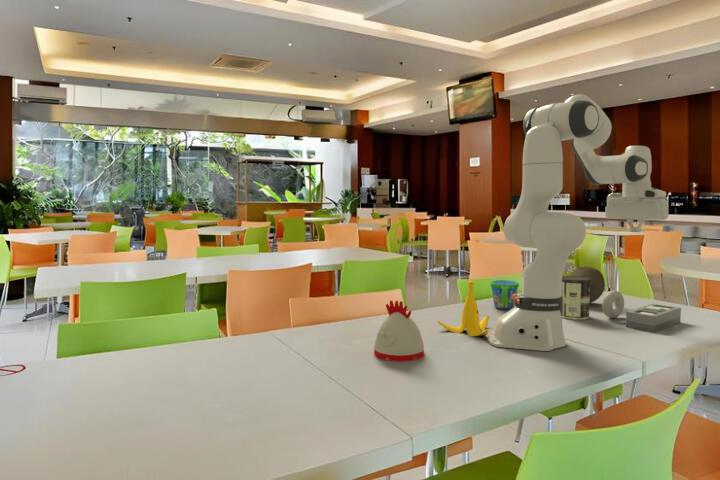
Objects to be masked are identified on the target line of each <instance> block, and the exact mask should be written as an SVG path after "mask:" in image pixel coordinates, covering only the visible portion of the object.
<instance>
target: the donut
mask: <svg viewBox="0 0 720 480" xmlns="http://www.w3.org/2000/svg"><path fill="white" fill-rule="evenodd" d="M601 308H602V312H603V314H604V315H605V316H606V317H607V318H609V319H615V318H618V317H619V316H620V315H621V314H622V313H623V311H624V309H625V297H624V295H623V294H622V293H621V292H620V291H618V290H613V289H612V290H610V291H608V292H607V293H606V294H605V295H604V297H603V299H602V303H601Z"/></svg>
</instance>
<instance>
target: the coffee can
mask: <svg viewBox="0 0 720 480" xmlns="http://www.w3.org/2000/svg"><path fill="white" fill-rule="evenodd" d="M589 295H590V278H587V277H580V276H570V275H564V276H563V275H562V289H561V296H562V297H563V313H562V319H567V320H573V321H575V320H576V321H578V320H580V321H581V320H582V321H584V320H588V319H590V303H589Z"/></svg>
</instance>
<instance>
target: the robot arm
mask: <svg viewBox="0 0 720 480" xmlns="http://www.w3.org/2000/svg"><path fill="white" fill-rule="evenodd" d="M522 128H523V132H524V134H525V139H524V144H523V148H522V149H523V150H522V151H523V152H522V178H521V179H522V180H521V181H522V186H521V194H520V197H519V200H518V202H517V205H516V208H514V211H513V212H512V213H510V215H509V216H507V218H506V220H505V222H504V224H503V225H504V226H503V233H504V234H503V235H504V237H505V239H506V240H507V241H508V242H509V243H510V244H513V245H516V246H518V247H522V248H528V249H529V248H530V249H536V253H535V257H534V259H533V260H532V261H531V262H529V263H528V264H526V265H525V266H524V267H523V269H522V275H521V277H522V278H521V279H522V281H521V294H519V295H518V294H513V295H512V299H513V301H515V305H514V308H512V309H509V310H507V312H506V313H504V314H502V315H501V316H499V318H498V319H497V321H496V324H495V327H494V331H491V332H488V334H487V338H486V339H487V342H488V343H489V344H490V345H492V346H494V347H496V348H506V349H507V348H508V349H517V350H518V349H519V350H530V351H542V352H549V351H552V350H554V349H560V348H563V347H565V346H566V345H567V341H566V338H565V333H564V327H563V318H562V313H563V297H562V296H561V289H562V277H563V273H564V269H565V265H566V262H567V261H568V259H569V257H570V256H571V254H572V253H573V252H575V250H577V249H578V248H580V247H581V246H582V244H583V242H584V241H585V238H586V236H587V235H586V234H587V230H586V228H587V227H586V225H585V222H584V221H583V219H582V218H581V217H580V216H577V215H575V214H571V213H569V212H564V211H548V210H549V206H550V203H551V202H552V200H553V199H554V198H556V197H557V196H558V195H560V193H561V192H562V190H563V187H564V184H563V183H564V156H563V154H564V153H563V147H562V142H563V141H568V140H569V141H570V140H571V147H572V150H573V152H574V154H575V156H576V158H577V159H578V162H579V163H580V165H581V167H582V168H583V171H584V174H585V178H586V180H587V181H588V182H589V183H590V184H592V185H593V186H601V185H610V184H611V185H613V184H617V185H618V184H622V188H621V189H622V192H611V193H610V194H608V195H607V197H606V207H605V217H606V218H607V219H617V220H618V219H619V220H620V219H621V220H626V223H627V226H629V232H630V233H641V228H642V226H643V225H644V223H645V220H655V221H657V220H659V221H665V220H667V219H668V217H669V213H670V212H669V204H668V203H669V202H668V200H667V199H666V196H667V192H666V191H665V190H664V191H663V190H661V189H658V188H656V187H655V188H654V187H652V181H651V173H652V170H653V169H652V168H653V166H652V165H653V164H652V154H651V149H650V148H649V147H648V146H647V145H639V144H634V145H629V146H627V147H625V150H624V152H623V153H621V154H618V155H605V156H604V155H597V154H596V152H595V151H594V150H596V149H597V148H600V147H601V146H603V145H604V144H605V143H606V142H607V140H608V139H609V138H610V136H611V134H612V133H611V132H612V128H613V127H612V122H611V120H610V118H609V117H608V116H607V114H606V112H604V110H603V109H602V107H600V106H599V105H598V103H597V102H596V101H594V100H593V99H592V98H590V97H589V96H587V95H585V94H580V93H579V94H574V95H572V96H570V97H568V98H567V99H566V100H565V101H564V102H554V103H549V104H546V105H542V106H541V105H540V106H536V107H534V108H532V109H530V110H528V111H527V112H526V114H525V116H524V118H523V121H522ZM634 220H637V223H638V224H637V225H636V226H635V225H634V224H633V223H634V222H635V221H634Z"/></svg>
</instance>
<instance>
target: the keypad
mask: <svg viewBox="0 0 720 480" xmlns="http://www.w3.org/2000/svg"><path fill="white" fill-rule="evenodd" d="M649 306H654V307H663V308H669V310H667V309H663V312H655V311H649V310H645V308H646V307H649ZM641 312H646V313H652V314H654V315H648V314H642V313H641ZM681 312H682V308H681V307H680V306H679V307H678V306H671V305H666V304H665V305H664V304H658V303H652V304H648V305H644V306H641V307H638V308H635V309H632V310H628V311H626V316H625V317H626V319H625V327H627V328H632V329H637V330H641V331H646V332H653V333H656V332H658V331H660V330H661V331H662V330H663V329H666V328H669V327H671V326H674V325H677V324H680V323H681V318H682V317H681V316H682V315H681V314H682V313H681Z"/></svg>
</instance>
